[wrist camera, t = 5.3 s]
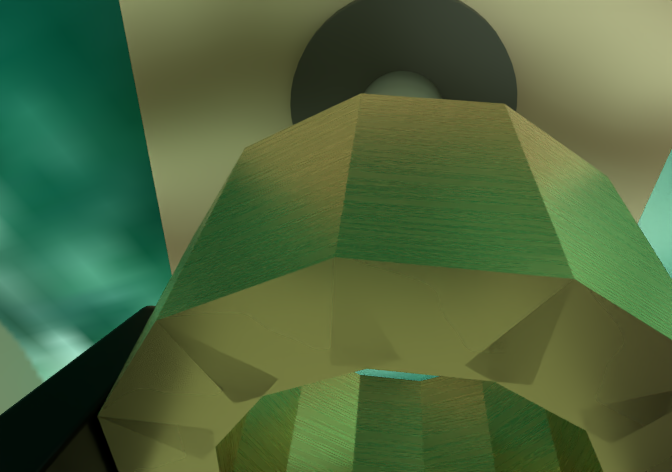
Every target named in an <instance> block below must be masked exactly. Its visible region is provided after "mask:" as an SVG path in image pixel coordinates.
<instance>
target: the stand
mask: <svg viewBox="0 0 672 472" xmlns="http://www.w3.org/2000/svg"><path fill="white" fill-rule="evenodd" d="M119 3H120V8H121V13H122V18H123V23H124V29H125V34H126V39H127V44H128V49H129V54H130V60H131V65H132V70H133V75H134V80H135V86H136V91H137V96H138V101H139V106H140V112H141V117H142V122H143V127H144V132H145V137H146V143H147V148H148V153H149V158H150V163H151V169H152V174H153V179H154V184H155V189H156V195H157V200H158V205H159V210H160V215H161V220H162V226H163V231H164V236H165V241H166V246H167V252H168V257H169V262H170V267H171V272H172V275H173V273H174V271H175V269H176V267H177V266H178V264H179V262H180V260H181V258H182V256H183V254H184V252H185V250H186V249H187V247H188V245H189V243H190V241H191V239H192V237H193V235H194V234H195V232H196V230H197V228H198V227H199V225H200V223H201V222H202V220H203V218H204V217H205V215H206V213H207V211H208V210H209V208H210V206H211V205H212V203H213V201H214V200H215V198H216V196H217V194H218V193H219V191H220V189H221V188H222V186H223V184H224V183H225V181H226V179H227V177H228V176H229V174H230V172H231V171H232V169H233V167H234V166H235V164H236V162H237V160H238V159H239V157H240V155H241V154H242V152H243V150H244V149H245V147H247V146H250V145H252V144H254V143H256V142H258V141H260V140H262V139H264V138H267V137H269V136H271V135H273V134H275V133H277V132H279V131H282V130H284V129H286V128H288V127H290V126H292V125H294V124H297V123H299V122H301V121H303V120H305V119H307V118H309V117H312V116H314V115H316V114H318V113H320V112H322V111H324V110H327V109H329V108H331V107H333V106H335V105H337V104H339V103H342V102H344V101H346V100H348V99H350V98H352V97H354V96H357V95H359V94H361V93H364V94H378V95H391V96H405V97H419V98H433V99H447V100H460V101H474V102H488V103H502V104H506V105H507V106H508V107H510V108H511V109H513V110H514V111H516V112H517V113H518V114H520V115H521V116H523V117H524V118H525V119H527V120H528V121H530V122H531V123H533V124H534V125H535V126H537V127H538V128H540V129H541V130H543V131H544V132H545V133H547V134H548V135H550V136H551V137H552V138H554V139H555V140H557V141H558V142H560V143H561V144H562V145H564V146H565V147H567V148H568V149H569V150H571V151H572V152H574V153H575V154H577V155H578V156H579V157H581V158H582V159H584V160H585V161H586V162H588V163H589V164H591V165H592V166H594V167H595V168H596V169H598V170H599V171H601V172H602V173H603V174H605V175H606V176H608V178H609V179H610V181H611V183H612V184H613V186H614V187H615V189H616V191H617V192H618V194H619V195H620V197H621V199H622V200H623V202H624V203H625V205H626V207H627V208H628V210H629V212H630V213H631V215H632V216H633V218H634V220H635V221H636V223H637V224H638V221H639V219H640V217H641V215H642V213H643V210H644V208H645V206H646V204H647V202H648V199H649V197H650V195H651V193H652V191H653V189H654V186H655V184H656V182H657V180H658V178H659V175H660V173H661V171H662V169H663V167H664V164H665V162H666V160H667V158H668V156H669V154H670V151H671V149H672V0H119Z"/></svg>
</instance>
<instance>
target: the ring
mask: <svg viewBox="0 0 672 472" xmlns="http://www.w3.org/2000/svg"><path fill="white" fill-rule="evenodd" d="M363 369H377V370H387V371H396V372H406V373H416V374H426V375H435V376H440V377H436V378H432V379H427V380H423V381H414V380H404V379H394V378H384V377H375V376H365V375H359V374H357V373H355V372H356V371H359V370H363ZM98 419H99V422H100V424H101V427H102V430H103V432H104V435H105V437H106V440H107V443H108V445H109V448H110V451H111V453H112V456H113V458H114V461H115V464H116V466H117V469H118V472H672V279H671V277H670V276H669V274H668V273H667V271H666V269H665V268H664V266H663V265H662V263H661V261H660V260H659V258H658V256H657V255H656V253H655V252H654V250H653V248H652V247H651V245H650V244H649V242H648V240H647V239H646V237H645V236H644V234H643V232H642V231H641V229H640V228H639V226H638V224H637V223H636V221H635V220H634V218H633V216H632V215H631V213H630V212H629V210H628V208H627V207H626V205H625V203H624V202H623V200H622V199H621V197H620V195H619V194H618V192H617V191H616V189H615V187H614V186H613V184H612V183H611V181H610V179H609V178H608V176H606V175H605V174H603V173H602V172H601V171H599V170H598V169H596V168H595V167H594V166H592V165H591V164H589V163H588V162H586V161H585V160H584V159H582V158H581V157H579V156H578V155H577V154H575V153H574V152H572V151H571V150H569V149H568V148H567V147H565V146H564V145H562V144H561V143H560V142H558V141H557V140H555V139H554V138H552V137H551V136H550V135H548V134H547V133H545V132H544V131H543V130H541V129H540V128H538V127H537V126H535V125H534V124H533V123H531V122H530V121H528V120H527V119H525V118H524V117H523V116H521V115H520V114H518V113H517V112H516V111H514V110H513V109H511V108H510V107H508V106H507V105H506V104H502V103H488V102H474V101H460V100H447V99H433V98H419V97H405V96H391V95H378V94H364V93H361V94H359V95H357V96H354V97H352V98H350V99H348V100H346V101H344V102H342V103H339V104H337V105H335V106H333V107H331V108H329V109H327V110H324V111H322V112H320V113H318V114H316V115H314V116H312V117H309V118H307V119H305V120H303V121H301V122H299V123H297V124H294V125H292V126H290V127H288V128H286V129H284V130H282V131H279V132H277V133H275V134H273V135H271V136H269V137H267V138H264V139H262V140H260V141H258V142H256V143H254V144H252V145H250V146H247V147H245V149H244V150H243V152H242V154H241V155H240V157H239V159H238V160H237V162H236V164H235V166H234V167H233V169H232V171H231V172H230V174H229V176H228V177H227V179H226V181H225V183H224V184H223V186H222V188H221V189H220V191H219V193H218V194H217V196H216V198H215V200H214V201H213V203H212V205H211V206H210V208H209V210H208V211H207V213H206V215H205V217H204V218H203V220H202V222H201V223H200V225H199V227H198V228H197V230H196V232H195V234H194V235H193V237H192V239H191V241H190V243H189V245H188V247H187V249H186V250H185V252H184V254H183V256H182V258H181V260H180V262H179V264H178V266H177V267H176V269H175V271H174V273H173V275H172V277H171V279H170V281H169V282H168V284H167V286H166V288H165V290H164V292H163V294H162V296H161V297H160V299H159V301H158V303H157V305H156V307H155V309H154V311H153V313H152V314H151V316H150V318H149V320H148V322H147V324H146V326H145V328H144V329H143V331H142V333H141V335H140V337H139V339H138V341H137V343H136V345H135V346H134V348H133V350H132V352H131V354H130V356H129V358H128V360H127V361H126V363H125V365H124V367H123V369H122V371H121V373H120V375H119V377H118V378H117V380H116V382H115V384H114V386H113V388H112V390H111V392H110V393H109V395H108V397H107V399H106V401H105V403H104V405H103V407H102V408H101V410H100V412H99V414H98Z"/></svg>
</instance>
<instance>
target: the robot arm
mask: <svg viewBox="0 0 672 472" xmlns="http://www.w3.org/2000/svg"><path fill="white" fill-rule="evenodd" d="M155 307H156V306H146V307H144V308H142V309H141V310H139V311H138V312H137V313H135V314H134V315H133V316H131V317H130V318H129V319H127V320H126V321H125V322H123V323H122V324H121V325H119V326H118V327H117V328H115V329H114V330H113V331H111V332H110V333H109V334H107V335H106V336H105V337H103V338H102V339H101V340H99V341H98V342H97V343H95V344H94V345H93V346H91V347H90V348H89V349H87V350H86V351H85V352H83V353H82V354H81V355H79V356H78V357H77V358H75V359H74V360H73V361H71V362H70V363H69V364H68V365H66V366H65V367H64V368H62V369H61V370H60V371H58V372H57V373H56V374H54V375H53V376H52V377H50V378H49V379H48V380H46V381H45V382H44V383H42V384H41V385H40V386H38V387H37V388H36V389H34V390H33V391H32V392H30V393H29V394H28V395H26V396H25V397H24V398H22V399H21V400H20V401H18V402H17V403H16V404H14V405H13V406H12V407H10V408H9V409H8V410H6V411H5V412H4V413H2V414H1V415H0V472H118V469H117V466H116V464H115V461H114V458H113V456H112V453H111V451H110V448H109V445H108V443H107V440H106V437H105V435H104V432H103V430H102V427H101V424H100V422H99V419H98V414H99V412H100V410H101V408H102V407H103V405H104V403H105V401H106V399H107V397H108V395H109V393H110V392H111V390H112V388H113V386H114V384H115V382H116V380H117V378H118V377H119V375H120V373H121V371H122V369H123V367H124V365H125V363H126V361H127V360H128V358H129V356H130V354H131V352H132V350H133V348H134V346H135V345H136V343H137V341H138V339H139V337H140V335H141V333H142V331H143V329H144V328H145V326H146V324H147V322H148V320H149V318H150V316H151V314H152V313H153V311H154V309H155Z"/></svg>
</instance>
